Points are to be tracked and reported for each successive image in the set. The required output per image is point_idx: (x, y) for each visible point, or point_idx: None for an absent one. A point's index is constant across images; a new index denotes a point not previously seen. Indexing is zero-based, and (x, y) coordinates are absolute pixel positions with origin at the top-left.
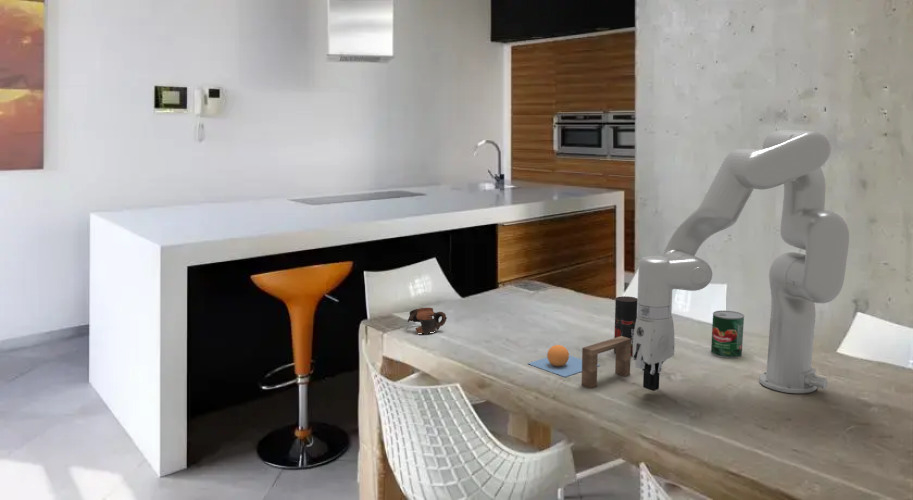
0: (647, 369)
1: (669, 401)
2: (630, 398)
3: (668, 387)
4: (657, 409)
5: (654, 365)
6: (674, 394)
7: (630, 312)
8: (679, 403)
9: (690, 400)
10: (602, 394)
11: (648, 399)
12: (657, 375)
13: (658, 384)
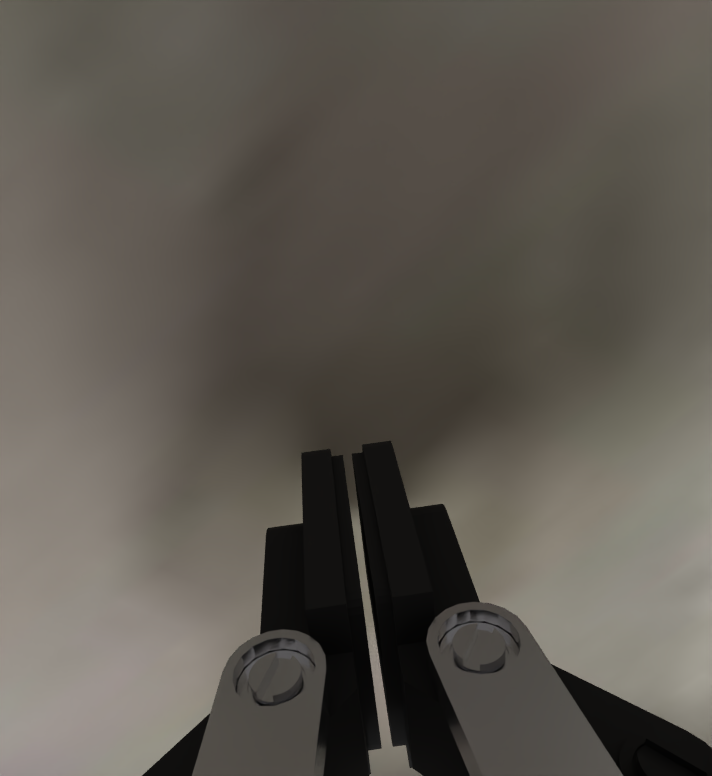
0: (637, 716)
1: (323, 218)
2: (593, 497)
3: (7, 521)
4: (658, 115)
5: (488, 769)
6: (93, 345)
7: None
8: (263, 89)
9: (38, 74)
10: (691, 661)
11: (475, 391)
12: (351, 583)
13: (317, 483)
